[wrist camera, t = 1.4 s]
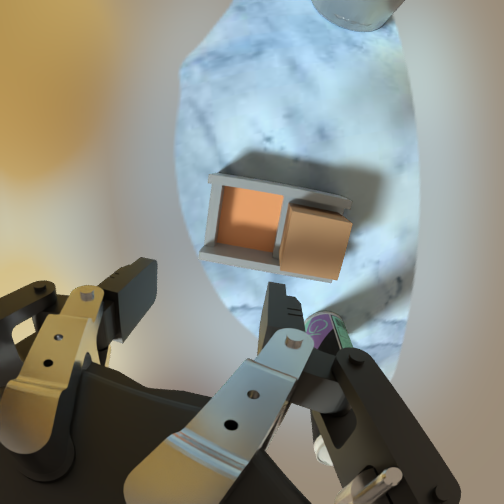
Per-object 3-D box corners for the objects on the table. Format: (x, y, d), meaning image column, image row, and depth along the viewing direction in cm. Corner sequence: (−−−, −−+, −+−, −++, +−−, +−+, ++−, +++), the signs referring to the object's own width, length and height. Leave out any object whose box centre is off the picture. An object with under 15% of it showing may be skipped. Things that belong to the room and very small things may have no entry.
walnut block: (288, 202, 26) (292, 211, 21) (338, 212, 26) (352, 223, 21) (278, 251, 27) (280, 270, 23) (326, 260, 27) (337, 280, 23)
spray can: (304, 309, 32) (329, 463, 13) (348, 312, 31) (404, 452, 12) (297, 346, 33) (308, 491, 14) (338, 347, 33) (373, 484, 14)
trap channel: (217, 172, 27) (208, 174, 24) (341, 195, 27) (352, 200, 23) (207, 247, 30) (198, 259, 26) (324, 268, 30) (331, 283, 26)
